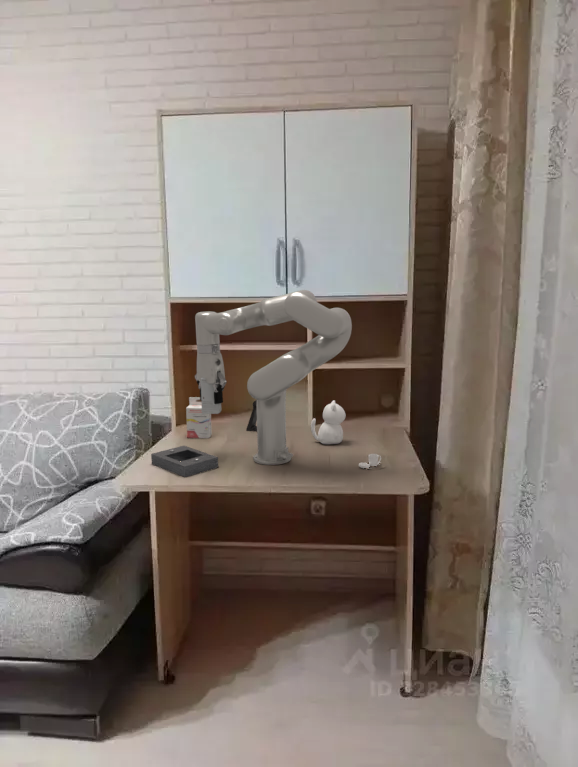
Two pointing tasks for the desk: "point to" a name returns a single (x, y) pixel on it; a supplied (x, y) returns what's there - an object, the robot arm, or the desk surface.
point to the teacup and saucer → (371, 461)
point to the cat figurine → (330, 425)
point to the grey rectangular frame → (184, 461)
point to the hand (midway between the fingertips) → (211, 401)
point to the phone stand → (253, 418)
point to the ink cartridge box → (197, 420)
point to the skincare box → (209, 398)
